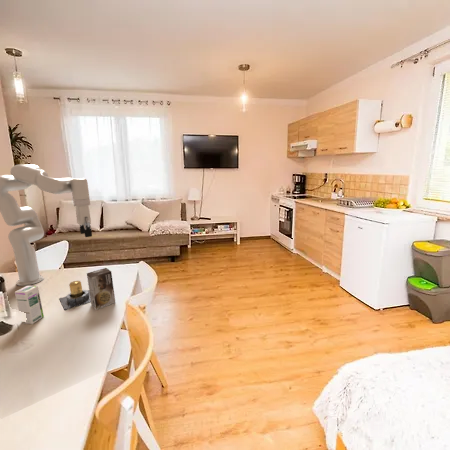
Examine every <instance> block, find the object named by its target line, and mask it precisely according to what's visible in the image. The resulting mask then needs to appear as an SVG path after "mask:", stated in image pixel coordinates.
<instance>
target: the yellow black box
mask: <svg viewBox="0 0 450 450" xmlns="http://www.w3.org/2000/svg"><path fill="white" fill-rule="evenodd" d="M68 285H69V286H68V287H69V291H70V293H71V296H72V297H75V298H76V297H79V296H83V290H84V289H83V287H82V282H81V280H74V281H71V282H70V283H69V284H68Z"/></svg>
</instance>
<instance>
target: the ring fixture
mask: <svg viewBox="0 0 450 450" xmlns="http://www.w3.org/2000/svg"><path fill="white" fill-rule="evenodd" d="M82 290H83V296H79V297H76V298H75V297H72V296H71V292H70V293H68V294H66V296H64V297H60V298H59V301H60V304H61V306H62V307H63V309H64V311H66V310H70V309H73V308H77V307H79V306H83V305H85V304H89V303H91V298H90V292H89V289H82Z"/></svg>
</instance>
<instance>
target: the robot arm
mask: <svg viewBox="0 0 450 450" xmlns="http://www.w3.org/2000/svg"><path fill="white" fill-rule="evenodd" d="M31 186H37V188H38V189H40V190H41V191H44V192H46V193H50V194H54V195H61V194H69V193H72V200H73V206H74V207H75V215H76V224H77V225H79V231H80V234H82V235H84V237H85V238H90V237H93V233H92V227H91V225H92V219H91V213H90V212H91V211H90V208H89V206H91V199H90V191H89V190H90V189H89V185H88V179H87V178H85V177H82V178H81V177H77V178H75V177H61V178H54V177H49V174H48V173H47V171H45V170H44V169H42V168H41V167H40V166H38V165H37V164H31V163H29V164H23V163H21V164H15V165H13V166H12V167H11V168H10V174H2V175H1V174H0V215H1V216H2V219H3V221H4V222H5V224H6V225H7V226H9V227H16V226H19V227H17V228H14V229H12V230H10V232H9V233H8V238H7V239H8V241H9V243H10V245H11V248H12V250H13V255H14V259H15V264H16V271H17V275H18V279H17V280H16V283H15V284H16V285H17V286H19V287H22V286H23V287H26V286H32V285H36V284H37V283H40V282H42V281H43V280H44V276H43V275H40V270H39V264H38V259H37V254H36V253H37V252H36V249H35V248H34V246H33V245H32V244H31V243H32V242H36V241H38V240H41V239H42V238H44V235H45V230H44V228H43V225H42V223H41V221H40V218H39V215H38V213H37V212H36V210H35V209H33V207H30V206H24V205H23V206H19V204H18V202H17V199H16V198H15V197H14V196H13V195H12V194H10V193H9V192H15V191H23V190H26V189H28V188H29V187H31ZM20 225H23V226H20Z"/></svg>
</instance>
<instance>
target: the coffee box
mask: <svg viewBox="0 0 450 450" xmlns="http://www.w3.org/2000/svg"><path fill="white" fill-rule="evenodd" d="M86 277H87V282H88V283H87V285H88V290H89V292H90V298H91V302H90V304H91V306H92V307H93V308H94V309H95V310H96V311H97V310H99V309H102V308H104V307H107V306H110V305H112V304H114V303H115V304H116V297H115V296H116V294H115V290H114V289H115V288H114V283H113V275H112V271H111V270H110V269H109V268H107V267H104V268H101V269H97V270H94V271H90V272H87V273H86Z"/></svg>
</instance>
